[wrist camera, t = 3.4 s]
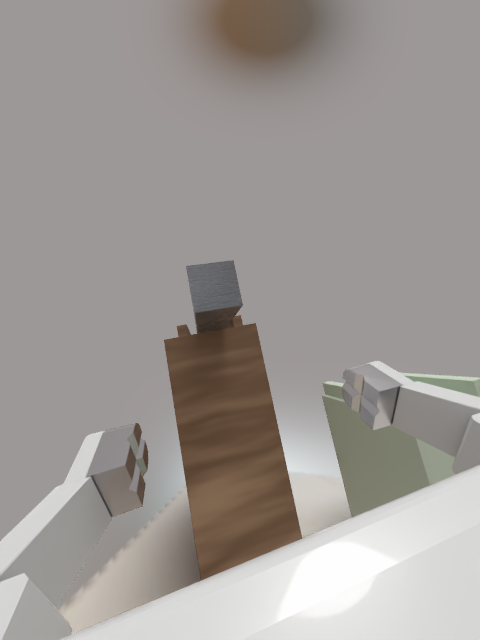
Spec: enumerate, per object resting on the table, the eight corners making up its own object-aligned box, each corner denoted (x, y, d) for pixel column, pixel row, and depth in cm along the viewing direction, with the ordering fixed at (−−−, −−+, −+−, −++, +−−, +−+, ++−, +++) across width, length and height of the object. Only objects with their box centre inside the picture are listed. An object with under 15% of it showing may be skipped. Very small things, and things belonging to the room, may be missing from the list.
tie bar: (242, 305, 14) (233, 260, 14) (194, 313, 13) (186, 266, 14) (217, 339, 36) (213, 321, 37) (198, 342, 36) (195, 324, 36)
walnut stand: (312, 586, 21) (253, 312, 25) (209, 632, 19) (162, 328, 23) (269, 498, 35) (235, 329, 39) (205, 520, 33) (176, 340, 37)
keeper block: (579, 634, 15) (487, 376, 18) (491, 693, 13) (404, 401, 16) (414, 514, 27) (373, 370, 29) (357, 539, 25) (318, 383, 28)
